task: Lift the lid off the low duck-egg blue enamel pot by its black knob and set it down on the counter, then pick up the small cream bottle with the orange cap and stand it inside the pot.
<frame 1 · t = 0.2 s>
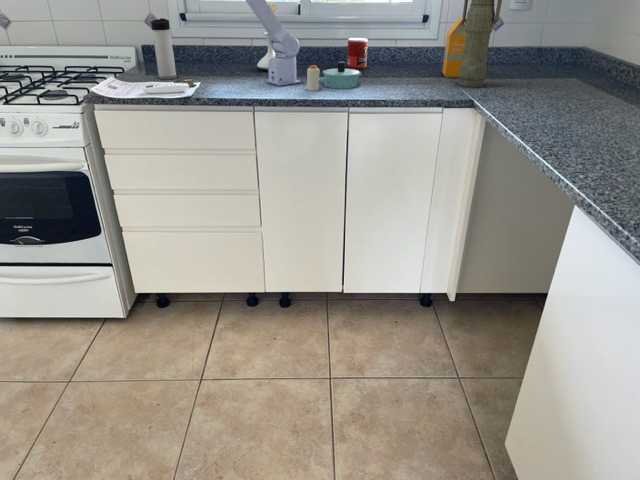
pot: (340, 85, 171), on the counter
thermos: (470, 85, 172), on the counter
lid: (341, 73, 169), point 4 cm above the counter, touching pot
flower in vase: (272, 70, 196), on the counter
orange juice: (453, 75, 188), on the counter
bottle: (313, 89, 165), on the counter
canned food: (356, 68, 201), on the counter
travel mug: (168, 78, 182), on the counter
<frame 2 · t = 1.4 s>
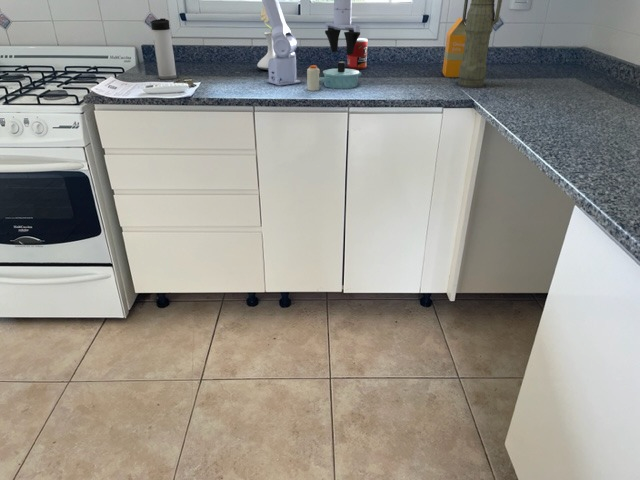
hand: (342, 53, 166), 11 cm above the counter, tool pointing down, fingers open, 7 cm apart
nothing on the counter moved.
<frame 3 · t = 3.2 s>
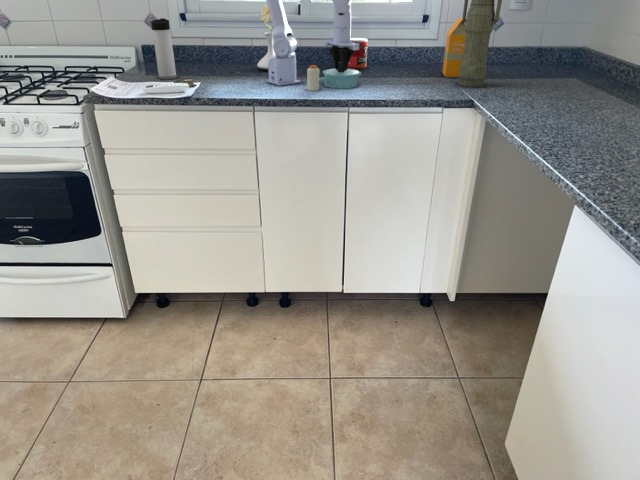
hand: (341, 70, 169), 5 cm above the counter, tool pointing down, fingers closed on lid, 2 cm apart
lid: (341, 73, 169), point 4 cm above the counter, touching gripper, pot
everything else where it was.
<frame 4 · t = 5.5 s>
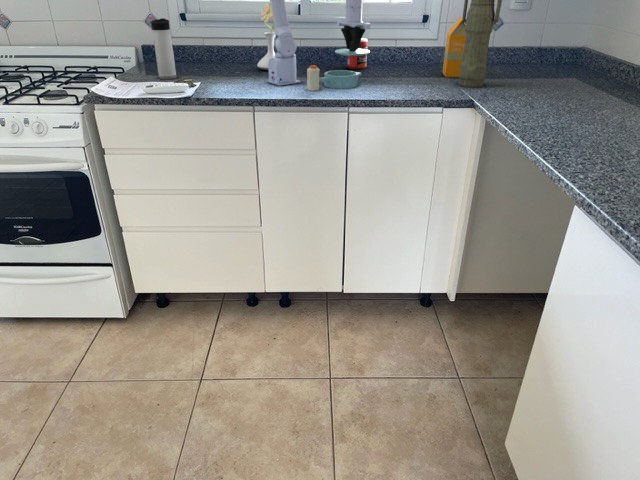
hand: (352, 49, 175), 10 cm above the counter, tool pointing down, fingers closed on lid, 2 cm apart
lid: (352, 52, 175), point 9 cm above the counter, touching gripper
everything else where it was.
when the fingers open (2 cm above the counter, at t = 8.0 s): lid stays where it is, point 1 cm above the counter.
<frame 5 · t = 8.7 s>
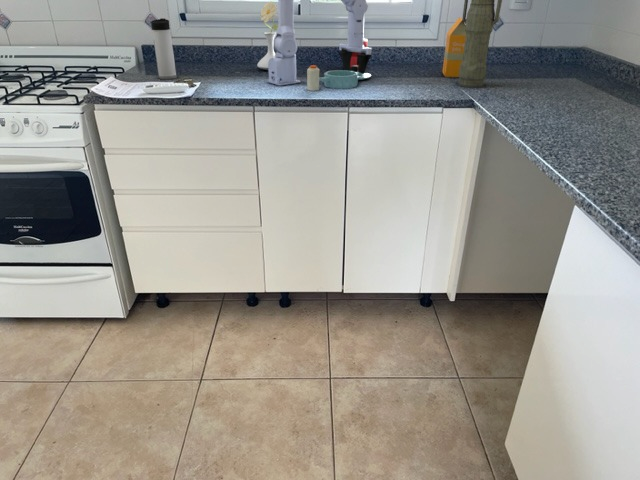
hand: (354, 72, 181), 2 cm above the counter, tool pointing down, fingers open, 7 cm apart
lid: (354, 76, 182), point 1 cm above the counter
everything else where it was.
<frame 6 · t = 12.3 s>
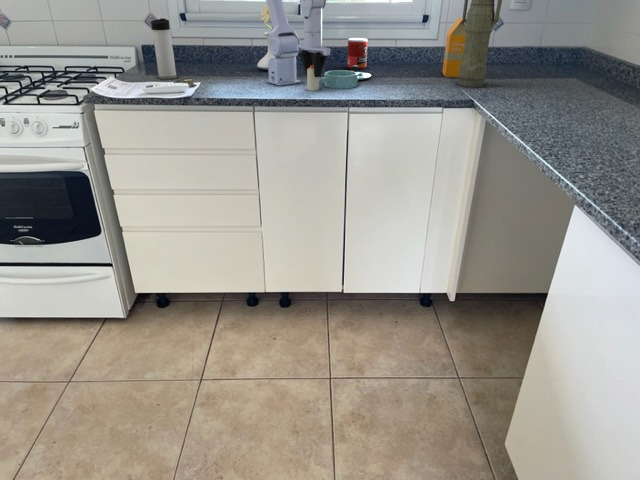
hand: (313, 75, 163), 4 cm above the counter, tool pointing down, fingers closed on bottle, 4 cm apart
bottle: (313, 89, 165), on the counter, touching gripper
everything else where it was.
when the fingers open (5 cm above the counter, at t = 16.7 s): bottle stays where it is, resting on pot.
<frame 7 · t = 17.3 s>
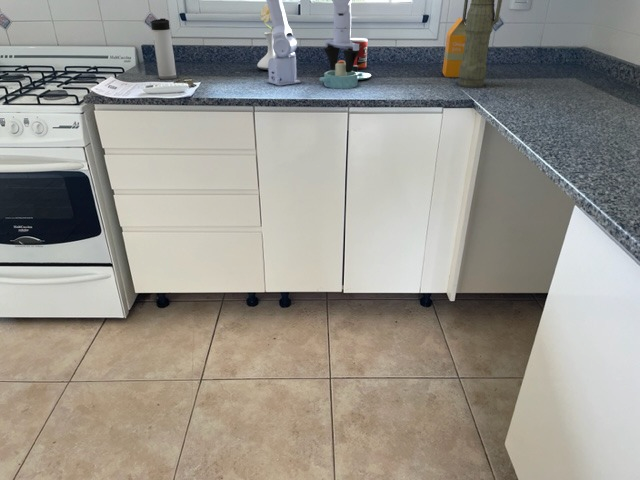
hand: (341, 70, 169), 5 cm above the counter, tool pointing down, fingers open, 7 cm apart
bottle: (340, 83, 171), resting on pot
everything else where it was.
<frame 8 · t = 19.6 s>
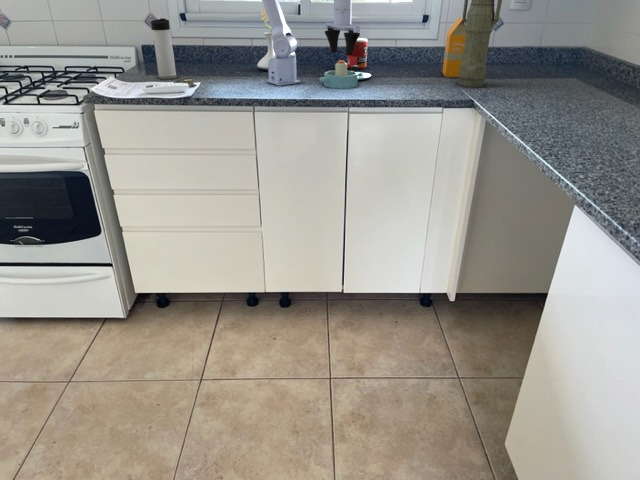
hand: (341, 53, 166), 10 cm above the counter, tool pointing down, fingers open, 7 cm apart
nothing on the counter moved.
at the end: lid inside the target area (0.0 cm from its centre), point 0.6 cm above the counter; bottle 0.0 cm off-centre in the pot, point 0.5 cm above the pot's base; bottle tilted 0° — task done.
